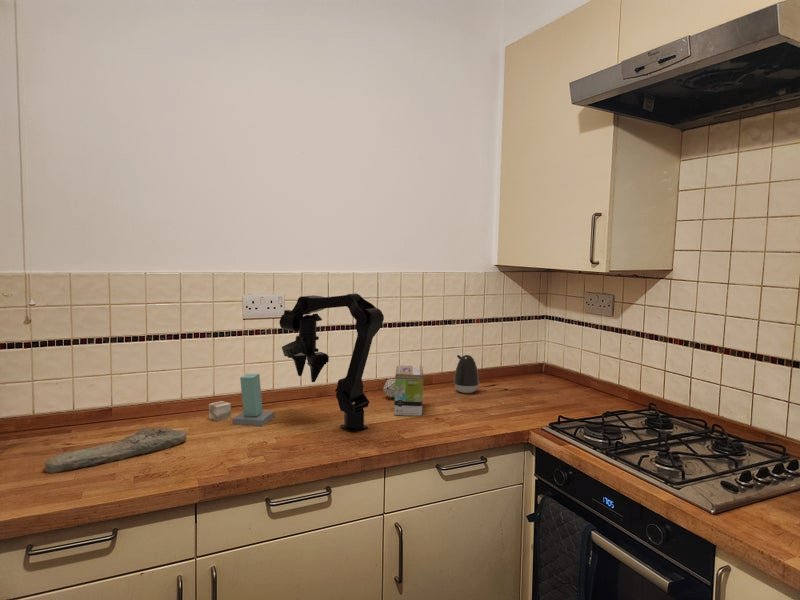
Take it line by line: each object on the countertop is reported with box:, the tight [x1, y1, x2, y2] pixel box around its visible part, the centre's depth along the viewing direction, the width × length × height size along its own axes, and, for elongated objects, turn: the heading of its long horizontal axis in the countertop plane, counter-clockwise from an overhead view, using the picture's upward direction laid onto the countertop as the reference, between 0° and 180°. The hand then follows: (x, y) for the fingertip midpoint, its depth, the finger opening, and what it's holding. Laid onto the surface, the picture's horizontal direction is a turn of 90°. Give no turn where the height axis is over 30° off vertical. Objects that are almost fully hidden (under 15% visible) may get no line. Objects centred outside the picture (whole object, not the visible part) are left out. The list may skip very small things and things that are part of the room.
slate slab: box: [232, 410, 276, 427], centre depth 175 cm, size 10×10×2 cm
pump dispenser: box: [453, 354, 480, 394], centre depth 215 cm, size 10×10×15 cm
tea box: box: [393, 365, 424, 417], centre depth 189 cm, size 15×10×15 cm
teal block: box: [239, 373, 264, 416], centre depth 174 cm, size 4×4×13 cm
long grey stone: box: [44, 426, 187, 474], centre depth 144 cm, size 35×5×10 cm
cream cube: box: [208, 400, 232, 422], centre depth 176 cm, size 5×5×5 cm
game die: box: [380, 377, 395, 400], centre depth 204 cm, size 9×8×10 cm
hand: (306, 379), depth 178 cm, fingers open, 9 cm apart
